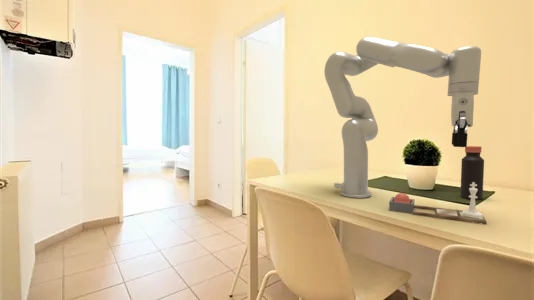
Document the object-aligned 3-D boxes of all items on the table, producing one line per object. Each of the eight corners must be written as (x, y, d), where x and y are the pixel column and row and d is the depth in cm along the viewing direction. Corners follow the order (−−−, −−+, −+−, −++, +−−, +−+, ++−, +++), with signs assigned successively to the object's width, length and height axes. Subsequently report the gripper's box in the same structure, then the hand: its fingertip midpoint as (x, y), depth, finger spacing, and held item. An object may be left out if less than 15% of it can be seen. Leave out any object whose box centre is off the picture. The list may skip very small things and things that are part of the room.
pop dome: (392, 207, 87) (393, 193, 87) (394, 204, 92) (394, 190, 91) (409, 209, 85) (410, 195, 84) (410, 206, 89) (411, 192, 89)
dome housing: (389, 210, 87) (389, 201, 87) (391, 205, 93) (392, 196, 93) (413, 213, 84) (413, 204, 83) (414, 208, 89) (414, 199, 89)
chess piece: (487, 218, 76) (488, 184, 75) (468, 217, 76) (469, 184, 75) (475, 212, 80) (477, 180, 80) (458, 212, 81) (459, 180, 80)
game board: (412, 214, 83) (412, 211, 83) (414, 207, 90) (414, 204, 90) (486, 224, 73) (486, 221, 73) (481, 215, 81) (481, 212, 81)
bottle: (457, 195, 106) (459, 145, 104) (478, 196, 103) (480, 146, 102) (463, 199, 99) (465, 147, 98) (485, 200, 97) (487, 147, 95)
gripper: (482, 85, 70) (477, 148, 72) (474, 92, 85) (470, 144, 86) (448, 87, 74) (444, 147, 76) (446, 93, 89) (443, 143, 90)
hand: (458, 145), depth 81 cm, fingers open, 9 cm apart
